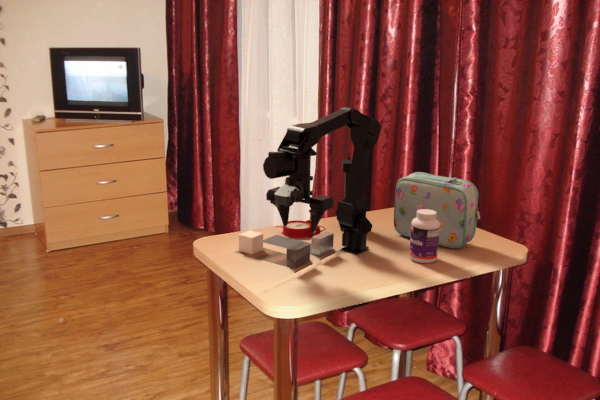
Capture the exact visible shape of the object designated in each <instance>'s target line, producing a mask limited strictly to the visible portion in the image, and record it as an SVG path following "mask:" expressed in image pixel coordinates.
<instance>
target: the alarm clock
mask: <svg viewBox="0 0 600 400" xmlns="http://www.w3.org/2000/svg"><path fill="white" fill-rule="evenodd" d="M275 227H276V228H282V231H281V234H282V236H284V237H288V238H292V239H305V238H309V239H312V237H313V236H316V235H318V234H320V233H322V232H325V231H326V227H325V226H323V225H319V224H318V225H317V228H316V230H315V232H313V233H312V232H311V219H307V220H306V221H305V220H288V224H287V226H284V225H282V226H278V225H276V226H275ZM321 228H323V229H322V230H321ZM314 233H315V234H314Z"/></svg>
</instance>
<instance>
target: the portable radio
mask: <svg viewBox="0 0 600 400" xmlns="http://www.w3.org/2000/svg"><path fill="white" fill-rule="evenodd" d="M347 153H348V154H347V159H342V161H341V169H342V172H343V173H344V187H343V188H344V189H343V191H344V192H343V199H344V198H345V196H346V193H347V187H348V181H349V174H350V168H351V162H352V158H351V159H350V153H351V152H350V151H347ZM340 231H344V229H343V228H340Z"/></svg>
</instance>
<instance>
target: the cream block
mask: <svg viewBox="0 0 600 400" xmlns="http://www.w3.org/2000/svg"><path fill="white" fill-rule="evenodd" d="M263 240H264V233H262V232H258V231H256V230H255V231H254V230H251V229H249V230H247V231H244V232H242V233H239V234H238V250H239V251H241V252H245V253H248V254H255V253H257V252H259V251H262V250H263V248H264V242H263Z"/></svg>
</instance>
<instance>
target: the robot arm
mask: <svg viewBox="0 0 600 400" xmlns="http://www.w3.org/2000/svg"><path fill="white" fill-rule="evenodd" d="M381 125H382V124H381V123H380V121H379V120H378V119H376V118H372V117H370V116H368V115H366V114H364V113H362V112H360V111H359V109H356V108H355V107H348V106H343V107H341V108H339V109H338V110H336V111H333V112H331V113H329V114H327V115H325V116H323V117H320V118H318V119H317V120H314V121H311V122H305V123H304V122H303V123H297V124H292V125H289V126H288V128H287V129H286V133H285V134H284V136H283V138H282V140H281V142H280V144H279V146H278V148H277V151H268V152H267V155H268V156H267V157H266V158H265V159H264V161H263V164H262V168H263V172H264V174H265V176H266V177H267V178H268V179H270V180H274V179H278V178H282V177H285V179H284V182H285V183H284V184H283V185H282V186H277V187H273V188H270V189H268V190H267V192H266V197H265V198H266V199H265V200H266V201H269V202H270V204H272V205H273V206H274V207H275V208H276V209H277V212H278V214H279V217H280V219H281V222H282V224H283V225H284V226H287V224H288V221H289V216H290V209H291V208H290V207H292V206H293V205H294V203H296V204H297V203H301V204H306V205H309V207H310V209H308V213H310V220H311V232H312V233H313V234H314V233H315V230H316V228H317V225H318V226H319V223H320V221H321V220H322V217H323V216H324V214H325V212H326V211H329V210H330V209H332V208H334V204H335V203H334V198H333V197H332V196H328V195H324V194H323V195H322V194H319V195H316V196H314V197H312V196H313V195H314V193H313V192H314V191H313V190H311V181H313V180H314V176H313V175H311V163H312V162H311V159H312V157H313V156H317V155H318V152H317V151H316V150H314V149H313V148H314V147H315V146H316V145H317V144H319V142H320V140H321V139H322V138H323V137H324V136H326V135H329V134H330V133H332V132H335V131H336V130H339V129H341V128H344V127H346V128H348V129H349V130H350V132H349V133H350V140H351V143H352V145H353V151H352V156H351V159H352V162H351V168H350V174H349V181H348V187H347V193H346V196H345V198H344V197H343V199H341V200H338V201H337V203H336V206H337V207H336V211H335V215H336V220H337V222H338V225H339V228H340V229H341V228H343V229H344V230H343V232H342V234H341V236H342V237H341V247H342V248H339V249H340V250H341V251H343V252H344V251H345V252H349V253H352V254H355V255H356V254H357V255H359V254H361V253H363V252H365V251H367V250H369V249H370V248H369V246H367V240H368V239H367V237H368V236H367V235H368V234H369V233H370V232H372V228H373V223H371V221H370V220H369V219H368V217H367V206H366V204H365V200H364V193H365V188H366V182H367V176H368V169H369V163H370V157H371V151H372V149H373V148H375V147H374V146H376V145H377V143H378V141H379V138H380V134H381V131H382V130H381V129H382V126H381ZM283 225H282V226H283Z"/></svg>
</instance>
